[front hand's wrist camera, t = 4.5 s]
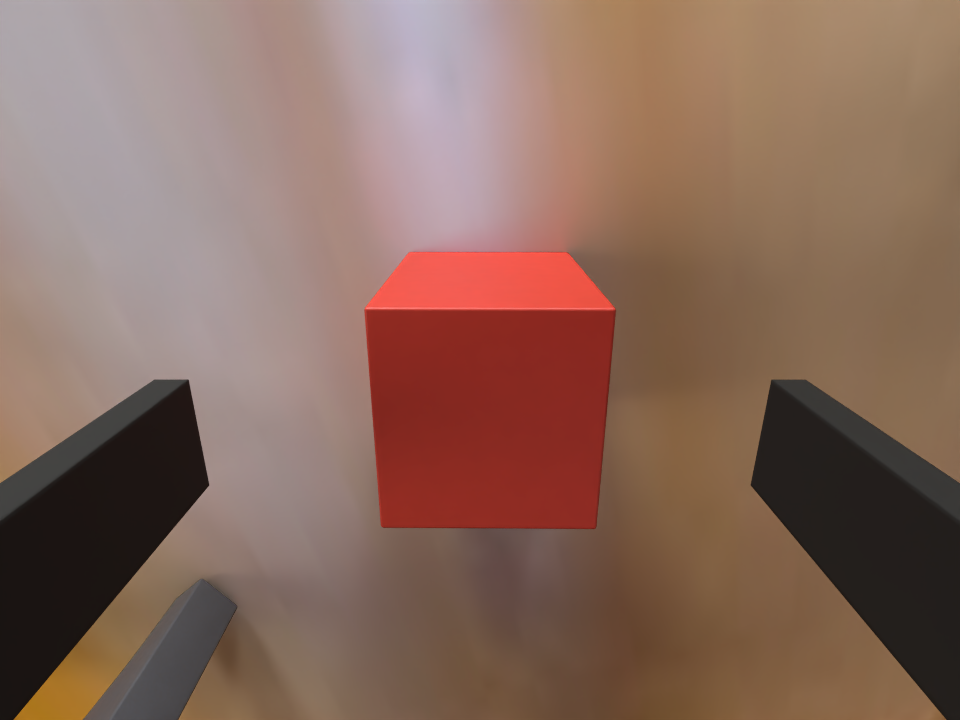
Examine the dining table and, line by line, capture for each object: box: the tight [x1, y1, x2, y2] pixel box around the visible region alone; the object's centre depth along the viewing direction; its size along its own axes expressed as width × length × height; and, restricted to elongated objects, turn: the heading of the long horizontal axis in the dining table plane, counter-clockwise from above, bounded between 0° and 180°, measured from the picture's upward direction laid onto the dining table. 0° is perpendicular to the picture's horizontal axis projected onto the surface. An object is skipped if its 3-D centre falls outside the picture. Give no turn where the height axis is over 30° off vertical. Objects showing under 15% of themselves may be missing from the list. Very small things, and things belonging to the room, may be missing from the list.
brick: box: [365, 252, 616, 529], centre depth 16 cm, size 6×5×7 cm
